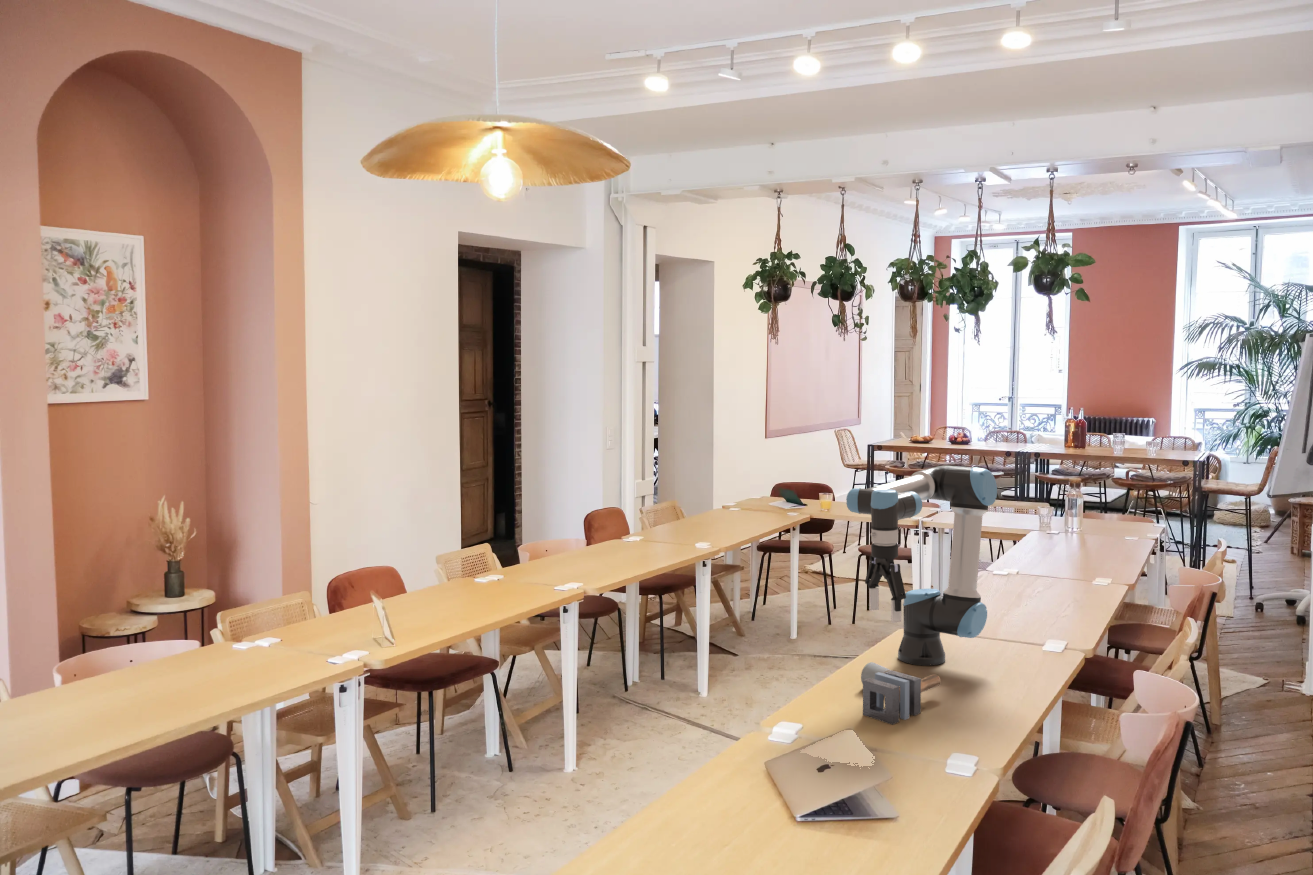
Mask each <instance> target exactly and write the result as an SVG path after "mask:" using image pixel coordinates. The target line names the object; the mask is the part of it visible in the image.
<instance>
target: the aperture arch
mask: <svg viewBox="0 0 1313 875" xmlns="http://www.w3.org/2000/svg"><path fill="white" fill-rule="evenodd" d="M875 680H879V681H882V682H886V683H890V684H893V685H896V686H899V687H900V711H899V719H901V720H904V721H905V720H909V719H910V714H909V680H905V679H902V678H898V677H894V676H891V675H887V674H884V673H880V672H878V673H875ZM877 707H880V708H883V709H885V695H883V694H879V693H877Z"/></svg>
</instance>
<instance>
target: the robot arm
mask: <svg viewBox="0 0 1313 875" xmlns="http://www.w3.org/2000/svg"><path fill="white" fill-rule="evenodd" d="M996 480H997V479H996V478H995V476H994V474H993V473H992V472H991V471H990V470H988V469H987V468H983V467H977V466H975V467H974V466H959V465H958V466H956V465H938V466H933V467H929V468H925V469H922V470H918V471H915V472H914V473H912V474H911V475H910V476H908V477H905V478H901V479H898V480H895V481H891V482H887V483H884V484H880V485H877V486H873V487H868V488H861V487H859V488H852V489H850V490H849V491H848V493H847V495H846V500H845V501H846V507H847V509H848V511H850V512H852V513H855V514H859V515H861V514H863V515H870V516H871V523H870V524H871V533H870V537H871V545H870V547H871V549H870V550H871V551H870V552H871V554H870V556H869V564H868V569H867V572H866V577H865V580H864V584H865V585H867V587H868V590H869V591H868V593H869V594H868V595H869V597H868V598H869V603H868V606H869V607H868V609H869V611H871V612H872V611H879V610H880V596H879V595H880V593H879V592H880V588H879V587H880V584H879V583H880V582H881V579H882V578H884V580H886V582H887V584H888V588H889V590H890V593H891V599H890V600H891V601H890V603H891V605H890V606H891V607H890V608H891V616H890V617H891V618H890V619H891V621H890V622H891V623H892V624H894V623H902V605H903V636H902V638H901V641H900V644H899V648H898V650H897V651H898V652H897V659H898V660H899V661H901V662H904V663H906V664H911V665H915V666H937V665H942V664H943V663H945V662H946V652H945V650H944V646H943V642H942V639H941V633H942V634H945V635H946V634H948V635H952V636H957V637H959V638H968V639H973V638H976V637H978V636H979V635H981V633H982V631H983V629H984V628H985V626H986V624H987V620H988V609H987V605H986V604H985V603H983V602H981V601H982V595H981V594H980V593H979V592H978V590H977V588H978V574H979V565H980V564H979V563H980V553H981V552H980V550H981V538H982V527H983V516H984V515H985V514H986V513H987V512H989V506H992V505H993V504H994V503H995V502H996V499H997V497H998V486H997V481H996ZM927 500H937V501H943V502H944V501H945V502H950V504H949V505H950V506H949V507H950V509H951V510H952V511H953V513H954V516H953V527H952V528H953V530H952V540H951V552H950V565H949V578H948V587H947V588H946V589H945V590H944V591H943V593H941V591H940V589H937V588H918V589H912V590H909V591H907V592H906V591H905V586H904V582H903V581H904V580H903V577H902V572H901V565H900V564H901V563H895V559H896V558H898V557H899V545H898V543H899V521H900V520H905V519H910V518H913V517H916V516H918V515H919V514H920V513H921V511H922V509H923V501H927ZM941 594H942V595H941ZM902 600H903V604H902Z"/></svg>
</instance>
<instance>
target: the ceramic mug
mask: <svg viewBox="0 0 1313 875" xmlns="http://www.w3.org/2000/svg"><path fill="white" fill-rule="evenodd" d="M890 670H891V669H889V668H888V667H885V666H883V665H880V664H879V663H876V662H873V661H872V662H867V664H865V665H864V667H863V668H862V670H861V673H860V674H861V675H860V680H861V681H860V682H861V684H862V685H863V680H865V679H868V678H872V679H875V673H878V672H880V673H884V674H885V672H887V671H890Z"/></svg>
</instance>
